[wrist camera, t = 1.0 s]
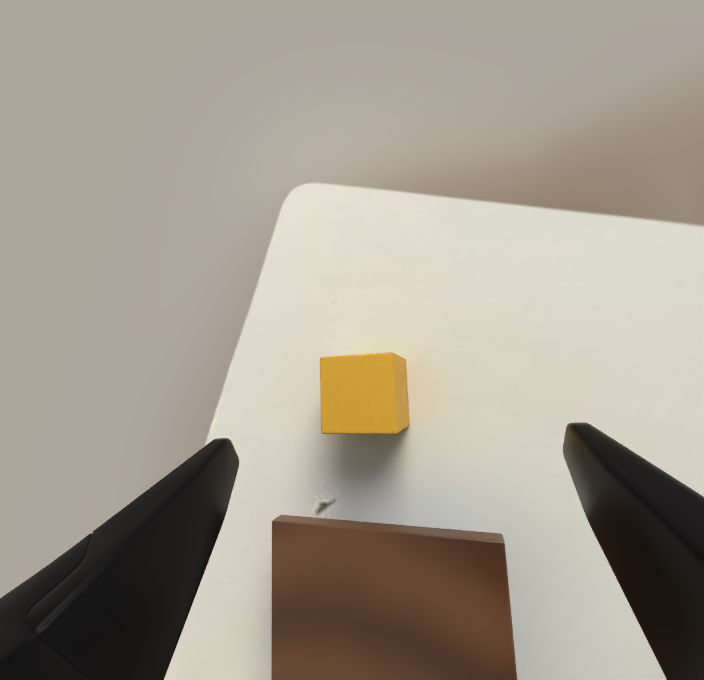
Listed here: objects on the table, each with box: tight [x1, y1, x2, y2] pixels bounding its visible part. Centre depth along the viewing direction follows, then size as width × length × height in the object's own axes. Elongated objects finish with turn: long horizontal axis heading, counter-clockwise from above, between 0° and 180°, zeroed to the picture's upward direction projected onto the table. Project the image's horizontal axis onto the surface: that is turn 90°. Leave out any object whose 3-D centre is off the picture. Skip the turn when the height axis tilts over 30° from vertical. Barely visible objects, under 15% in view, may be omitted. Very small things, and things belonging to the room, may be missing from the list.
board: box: [272, 515, 517, 680], centre depth 20 cm, size 12×14×1 cm
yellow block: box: [320, 353, 409, 434], centre depth 24 cm, size 5×5×5 cm
